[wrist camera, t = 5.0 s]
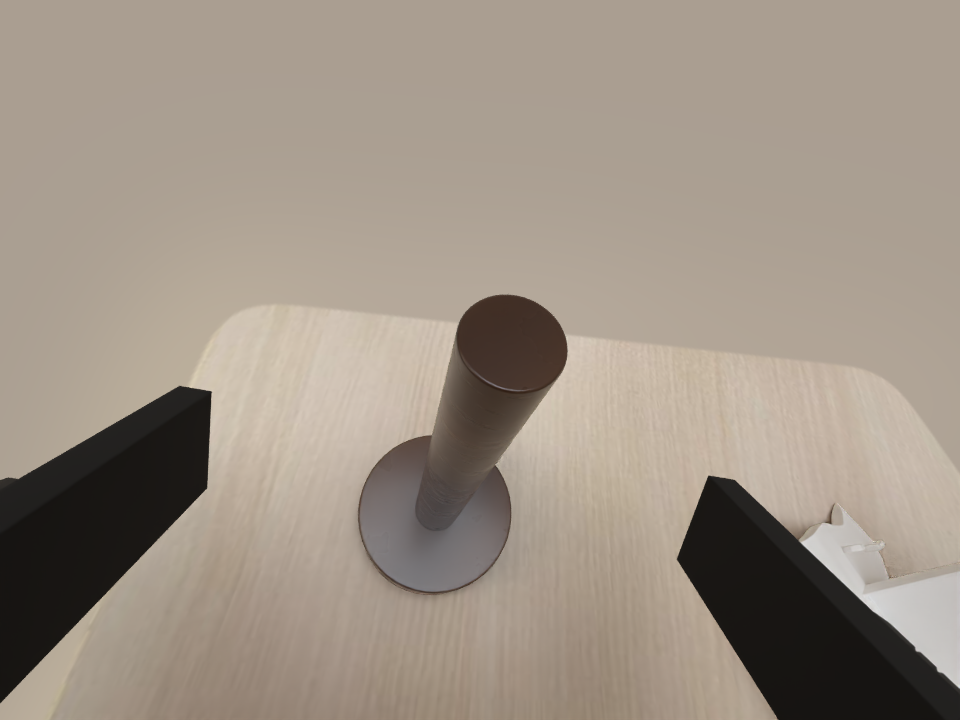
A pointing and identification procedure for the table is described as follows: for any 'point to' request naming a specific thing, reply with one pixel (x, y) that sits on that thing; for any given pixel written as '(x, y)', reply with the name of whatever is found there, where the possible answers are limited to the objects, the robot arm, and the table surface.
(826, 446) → the table surface
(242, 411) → the table surface
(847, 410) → the table surface
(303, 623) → the table surface
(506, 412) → the wooden stand
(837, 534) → the plastic part
